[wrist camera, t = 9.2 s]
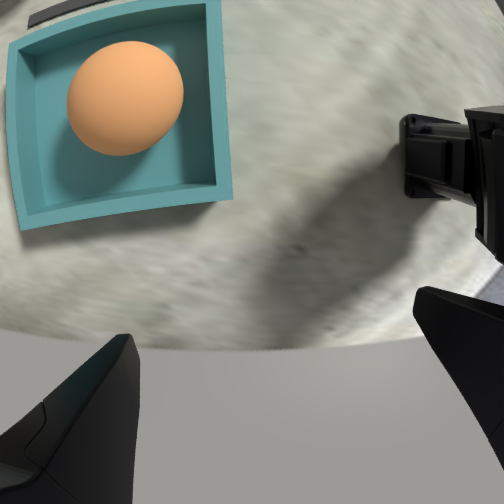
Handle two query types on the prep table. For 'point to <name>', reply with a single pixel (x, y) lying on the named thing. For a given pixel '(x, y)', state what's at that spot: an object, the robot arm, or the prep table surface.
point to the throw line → (59, 10)
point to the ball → (125, 98)
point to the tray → (107, 166)
